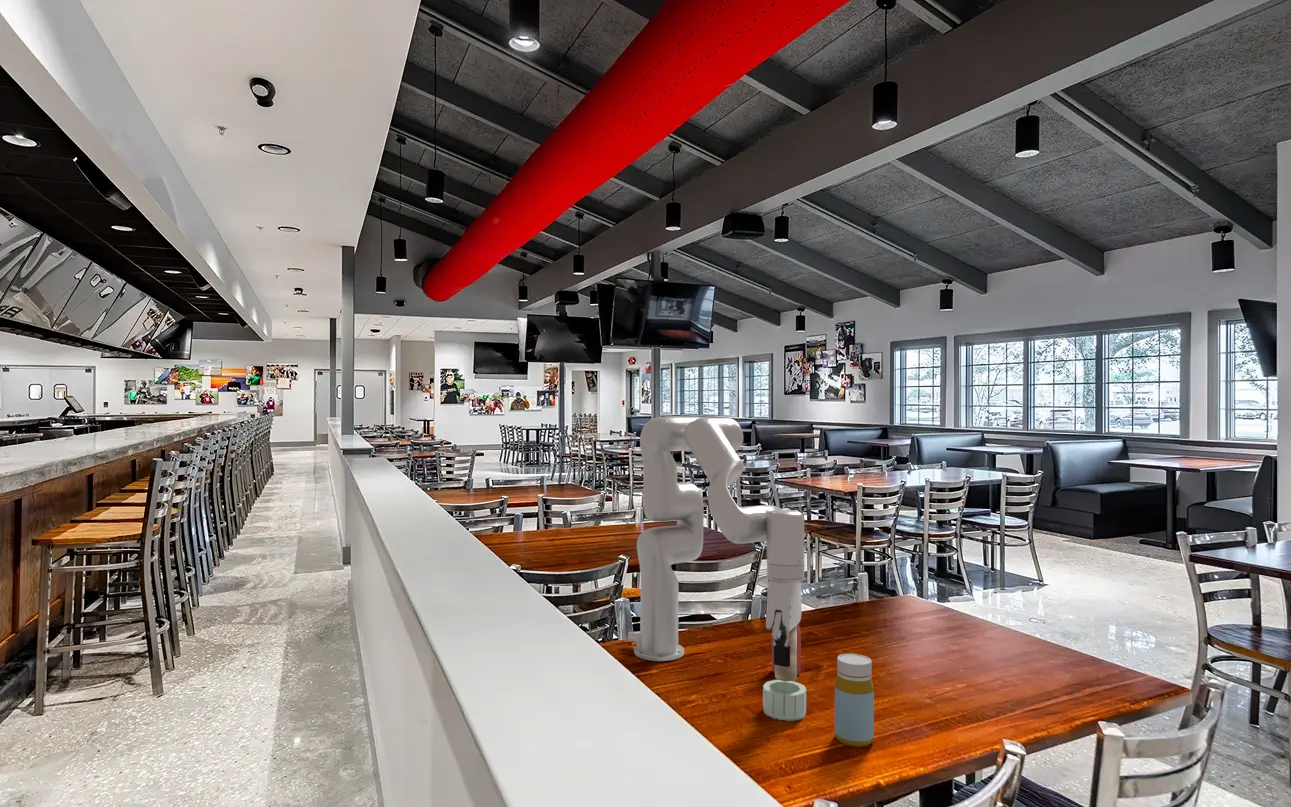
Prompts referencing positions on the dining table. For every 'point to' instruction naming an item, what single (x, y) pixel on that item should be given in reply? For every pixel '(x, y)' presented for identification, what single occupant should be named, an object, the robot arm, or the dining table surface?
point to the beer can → (797, 651)
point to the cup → (784, 700)
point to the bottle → (854, 701)
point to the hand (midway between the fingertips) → (785, 660)
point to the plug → (791, 671)
